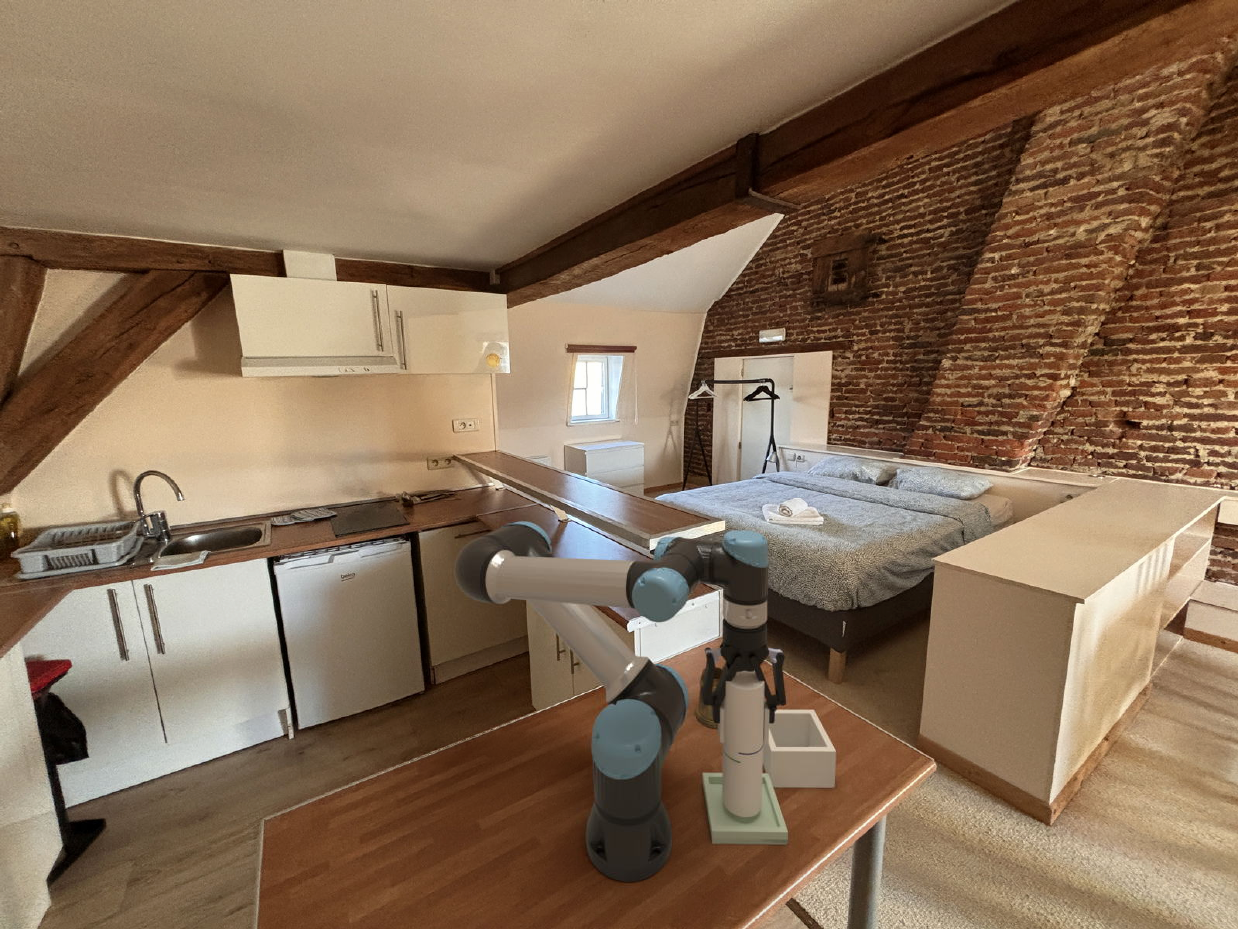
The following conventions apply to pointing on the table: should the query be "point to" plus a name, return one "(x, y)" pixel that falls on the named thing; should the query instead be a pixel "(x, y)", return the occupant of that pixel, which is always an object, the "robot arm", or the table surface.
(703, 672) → the wooden mug
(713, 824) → the tray
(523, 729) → the table surface
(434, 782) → the table surface
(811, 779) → the hollow square frame
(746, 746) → the cylindrical container
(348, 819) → the table surface
